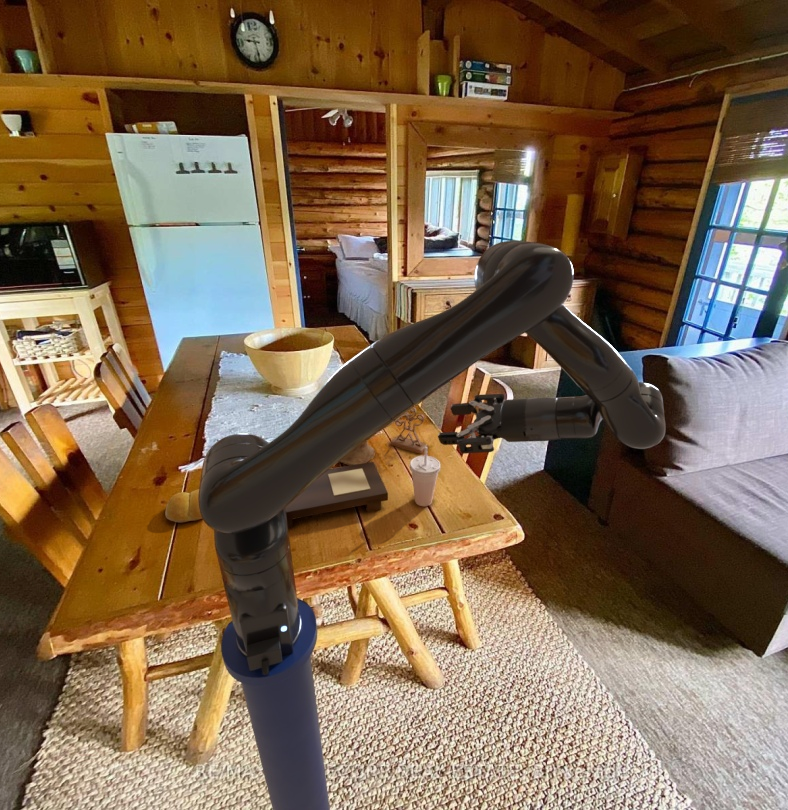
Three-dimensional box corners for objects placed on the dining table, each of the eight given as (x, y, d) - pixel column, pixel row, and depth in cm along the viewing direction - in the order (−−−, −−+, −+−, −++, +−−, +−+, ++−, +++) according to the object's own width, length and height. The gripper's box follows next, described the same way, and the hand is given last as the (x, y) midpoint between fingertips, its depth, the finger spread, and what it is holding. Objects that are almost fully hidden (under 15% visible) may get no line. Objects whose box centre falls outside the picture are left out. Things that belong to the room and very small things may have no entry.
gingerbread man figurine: (390, 444, 115) (390, 403, 110) (397, 438, 118) (398, 398, 113) (420, 454, 112) (422, 412, 106) (427, 446, 115) (429, 406, 109)
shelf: (388, 507, 93) (388, 492, 91) (269, 531, 86) (266, 515, 84) (373, 475, 103) (373, 460, 101) (266, 494, 96) (264, 478, 94)
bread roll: (214, 518, 89) (211, 503, 87) (165, 528, 86) (160, 512, 84) (216, 494, 95) (213, 479, 94) (171, 501, 93) (166, 486, 91)
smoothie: (409, 510, 92) (410, 454, 86) (408, 491, 98) (409, 437, 92) (439, 510, 92) (443, 454, 86) (437, 491, 98) (440, 437, 92)
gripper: (533, 378, 79) (450, 386, 87) (521, 429, 69) (428, 432, 77) (540, 411, 83) (460, 415, 91) (530, 464, 73) (440, 464, 80)
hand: (445, 423), depth 84 cm, fingers open, 8 cm apart
